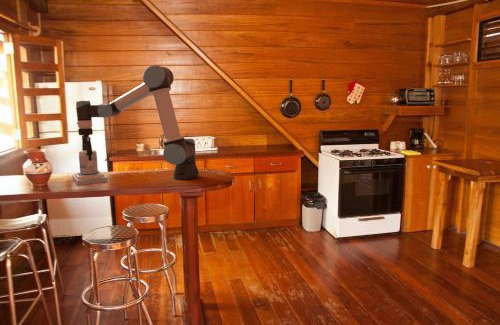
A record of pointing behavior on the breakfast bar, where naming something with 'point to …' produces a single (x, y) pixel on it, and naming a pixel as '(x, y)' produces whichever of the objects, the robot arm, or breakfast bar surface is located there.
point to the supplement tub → (84, 165)
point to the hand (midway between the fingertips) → (88, 164)
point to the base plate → (89, 178)
